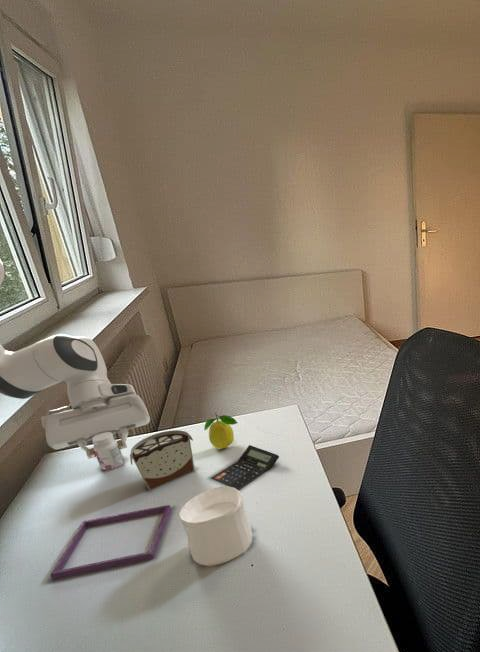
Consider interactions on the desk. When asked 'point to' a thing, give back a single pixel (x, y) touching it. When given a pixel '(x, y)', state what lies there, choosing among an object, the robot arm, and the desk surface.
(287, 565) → the desk surface
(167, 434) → the food container
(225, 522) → the cup
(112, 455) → the pill bottle
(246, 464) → the calculator
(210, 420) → the lemon
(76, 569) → the purple square frame
